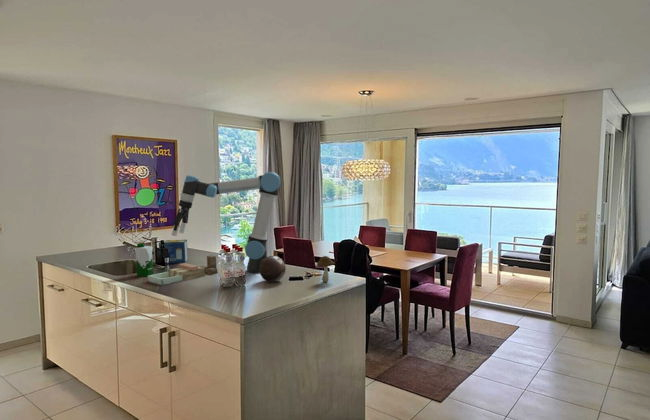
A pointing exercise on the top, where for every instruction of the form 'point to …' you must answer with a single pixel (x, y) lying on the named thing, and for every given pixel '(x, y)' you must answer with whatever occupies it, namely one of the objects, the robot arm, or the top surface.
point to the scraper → (210, 265)
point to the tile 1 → (192, 267)
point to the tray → (164, 278)
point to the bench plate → (187, 273)
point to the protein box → (177, 250)
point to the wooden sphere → (272, 269)
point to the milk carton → (144, 260)
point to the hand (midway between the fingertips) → (177, 234)
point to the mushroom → (325, 266)
